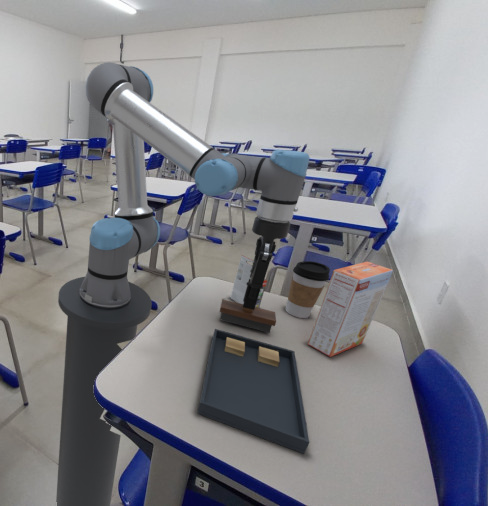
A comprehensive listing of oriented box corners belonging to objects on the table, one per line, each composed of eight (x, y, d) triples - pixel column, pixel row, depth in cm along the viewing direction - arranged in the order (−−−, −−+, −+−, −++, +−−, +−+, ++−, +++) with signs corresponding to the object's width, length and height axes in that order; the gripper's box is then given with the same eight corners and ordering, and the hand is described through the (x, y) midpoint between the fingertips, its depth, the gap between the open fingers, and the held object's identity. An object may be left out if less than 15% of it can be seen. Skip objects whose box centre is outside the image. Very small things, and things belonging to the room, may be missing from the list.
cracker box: (337, 331, 94) (366, 260, 86) (362, 344, 89) (396, 270, 81) (304, 343, 88) (333, 267, 80) (330, 358, 83) (362, 279, 75)
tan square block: (225, 342, 86) (226, 336, 85) (243, 347, 84) (244, 342, 84) (224, 351, 83) (225, 345, 82) (243, 356, 81) (244, 351, 80)
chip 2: (257, 351, 83) (259, 346, 83) (276, 356, 82) (278, 351, 81) (257, 361, 80) (259, 355, 79) (277, 367, 78) (279, 361, 78)
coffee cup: (321, 319, 100) (339, 271, 94) (297, 322, 98) (314, 273, 92) (296, 303, 107) (312, 258, 101) (273, 306, 105) (288, 260, 99)
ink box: (238, 296, 110) (250, 253, 104) (259, 309, 103) (273, 264, 97) (229, 298, 108) (240, 254, 103) (250, 311, 101) (263, 265, 96)
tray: (212, 337, 89) (214, 328, 88) (290, 360, 82) (294, 351, 81) (197, 413, 66) (200, 402, 65) (304, 454, 59) (309, 442, 58)
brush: (218, 311, 99) (230, 266, 93) (270, 324, 94) (286, 277, 88) (217, 319, 95) (229, 272, 89) (271, 334, 90) (288, 285, 84)
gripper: (294, 230, 75) (265, 323, 84) (288, 213, 88) (264, 296, 97) (255, 224, 78) (231, 314, 87) (255, 209, 91) (234, 289, 100)
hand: (248, 304), depth 92 cm, fingers closed on brush, 3 cm apart
